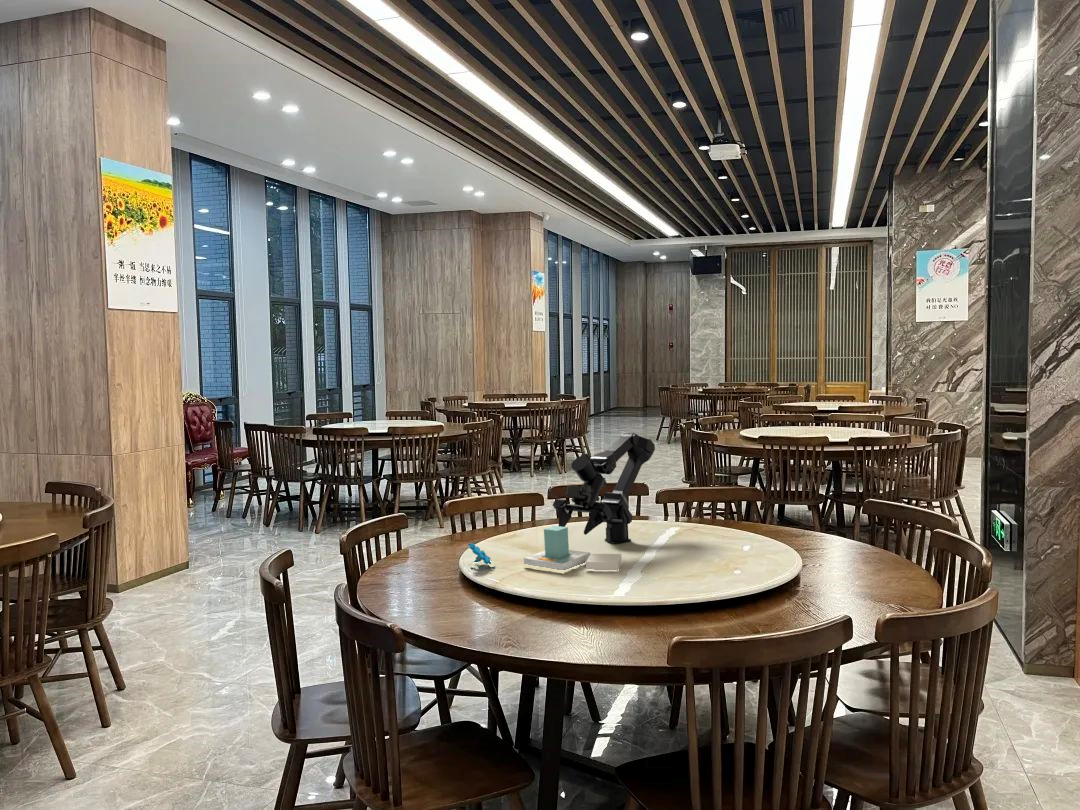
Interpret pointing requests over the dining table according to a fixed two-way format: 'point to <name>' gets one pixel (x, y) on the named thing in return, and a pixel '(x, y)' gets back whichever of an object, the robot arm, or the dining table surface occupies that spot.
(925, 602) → the dining table surface
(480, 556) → the blue splat disc
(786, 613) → the dining table surface
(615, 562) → the white flat square block
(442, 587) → the dining table surface
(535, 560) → the hole plate
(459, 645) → the dining table surface
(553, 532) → the teal square peg
